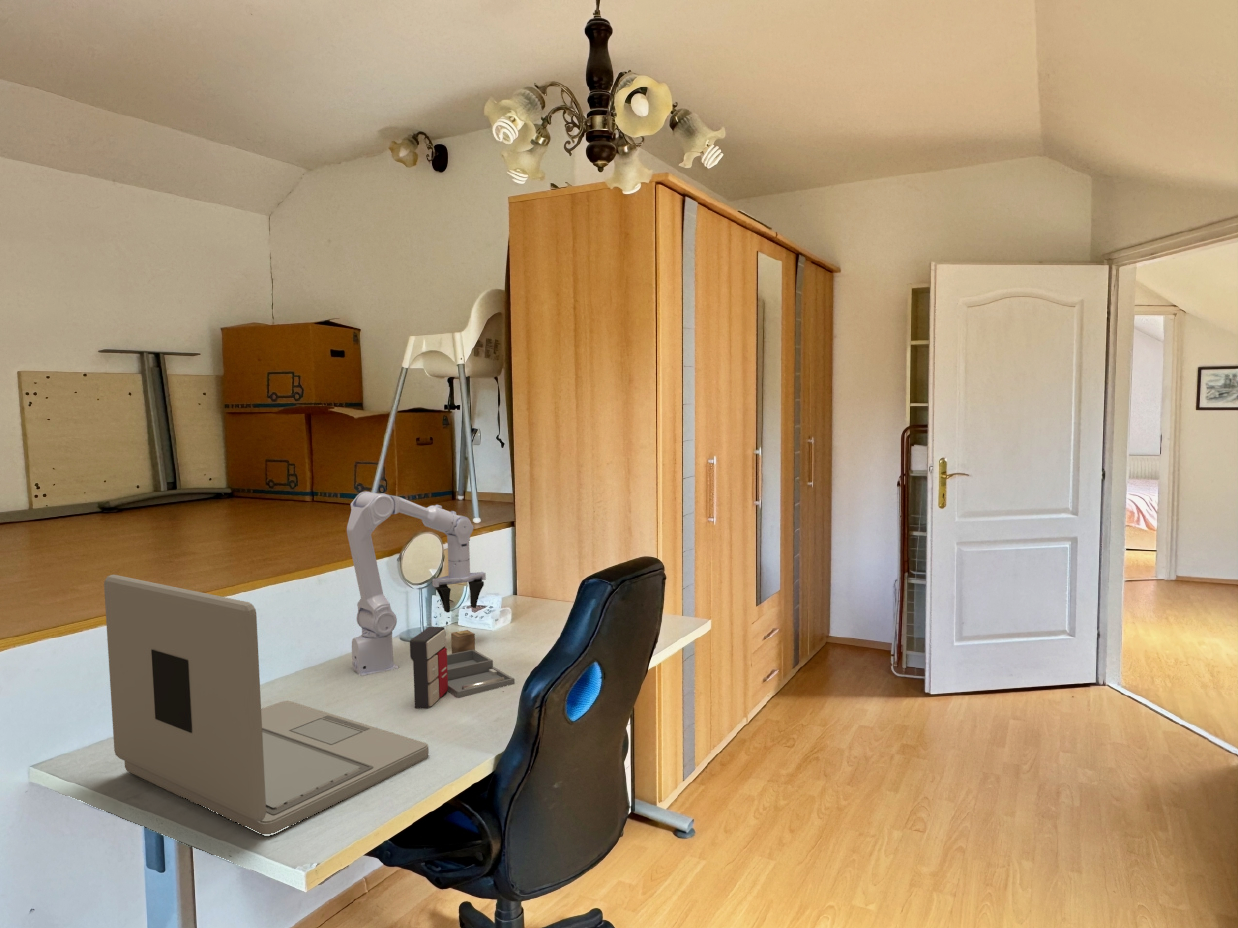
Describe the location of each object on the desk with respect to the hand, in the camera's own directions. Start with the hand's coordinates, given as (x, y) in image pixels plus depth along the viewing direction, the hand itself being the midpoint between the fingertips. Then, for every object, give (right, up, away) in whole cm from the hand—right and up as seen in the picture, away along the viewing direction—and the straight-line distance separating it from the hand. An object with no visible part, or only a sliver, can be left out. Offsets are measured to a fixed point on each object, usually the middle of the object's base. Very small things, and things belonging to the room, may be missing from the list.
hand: (460, 609), depth 213 cm
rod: (+12, -11, -34) cm, 38 cm away
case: (+3, -11, -21) cm, 24 cm away
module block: (+3, -10, -10) cm, 15 cm away
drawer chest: (+2, -13, -40) cm, 42 cm away
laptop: (-19, -16, -71) cm, 75 cm away
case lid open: (+10, -12, -31) cm, 34 cm away
